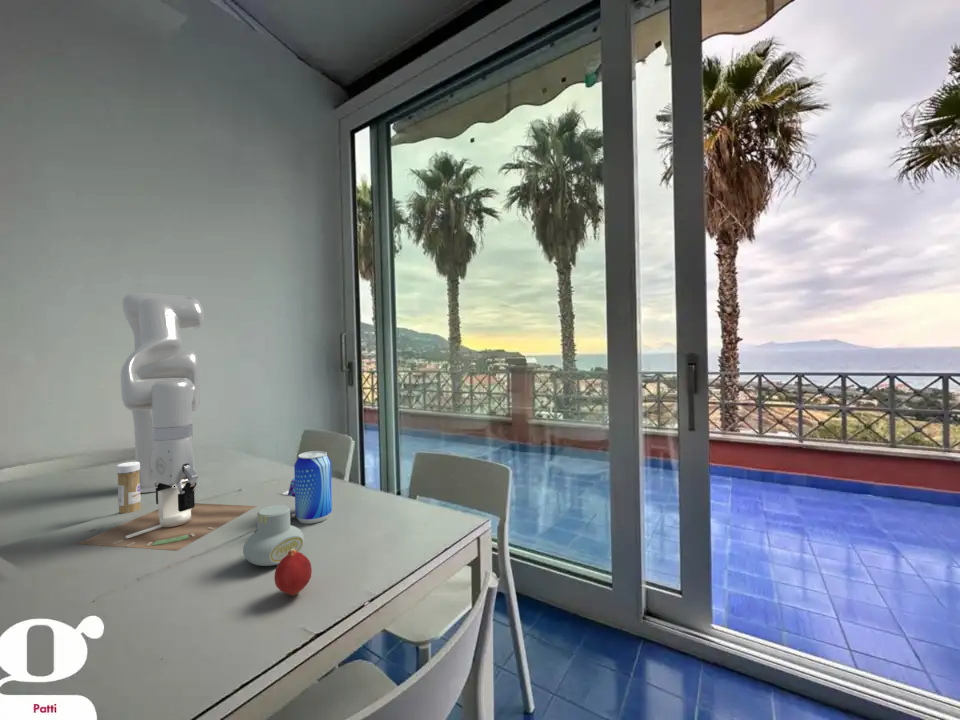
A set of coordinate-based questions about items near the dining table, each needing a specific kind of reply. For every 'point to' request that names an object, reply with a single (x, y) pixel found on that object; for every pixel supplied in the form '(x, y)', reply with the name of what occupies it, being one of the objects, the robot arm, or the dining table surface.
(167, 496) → the tuning knob
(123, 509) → the sprinkles bottle
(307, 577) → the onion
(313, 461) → the beer can
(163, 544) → the dial board
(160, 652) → the dining table surface
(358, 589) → the dining table surface
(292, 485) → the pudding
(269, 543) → the air freshener
